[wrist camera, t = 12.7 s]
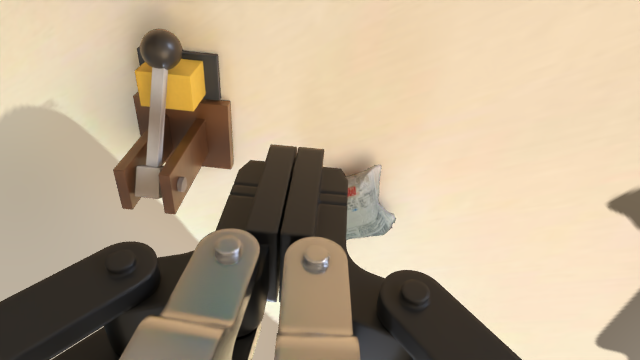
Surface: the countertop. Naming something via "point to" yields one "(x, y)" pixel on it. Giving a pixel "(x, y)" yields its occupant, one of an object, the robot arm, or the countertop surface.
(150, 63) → the ball-knob lever
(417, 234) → the countertop surface
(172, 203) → the brown lever base bracket
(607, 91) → the countertop surface
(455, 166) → the countertop surface
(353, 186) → the packaged food
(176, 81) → the butter
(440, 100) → the countertop surface
